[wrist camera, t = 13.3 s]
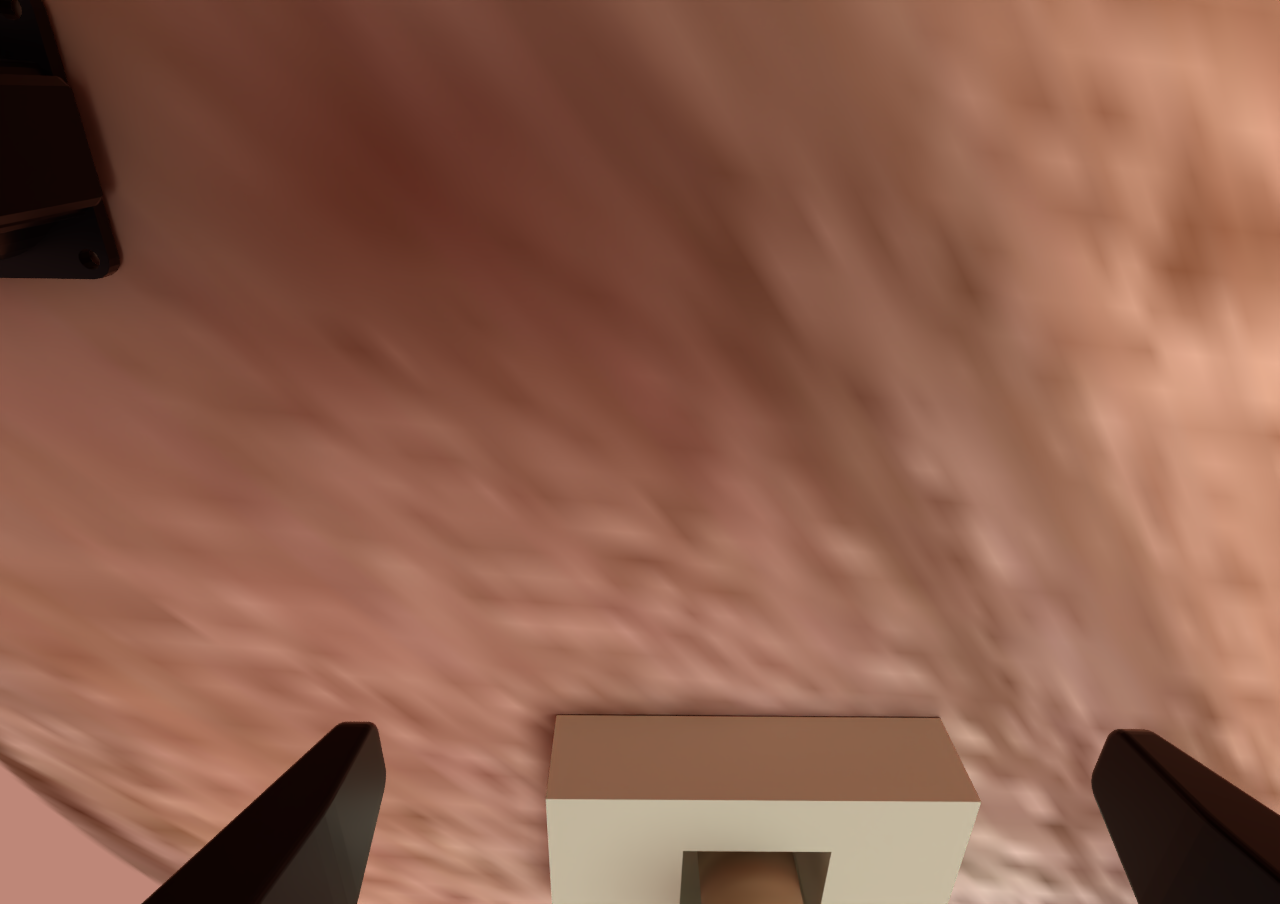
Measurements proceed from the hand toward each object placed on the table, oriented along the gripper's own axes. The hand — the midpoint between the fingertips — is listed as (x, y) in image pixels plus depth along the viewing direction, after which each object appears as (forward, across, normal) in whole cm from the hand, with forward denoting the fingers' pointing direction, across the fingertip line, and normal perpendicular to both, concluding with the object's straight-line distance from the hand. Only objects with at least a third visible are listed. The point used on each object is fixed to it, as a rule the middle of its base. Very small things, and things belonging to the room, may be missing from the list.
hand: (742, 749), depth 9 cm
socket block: (+13, -3, +18) cm, 22 cm away
